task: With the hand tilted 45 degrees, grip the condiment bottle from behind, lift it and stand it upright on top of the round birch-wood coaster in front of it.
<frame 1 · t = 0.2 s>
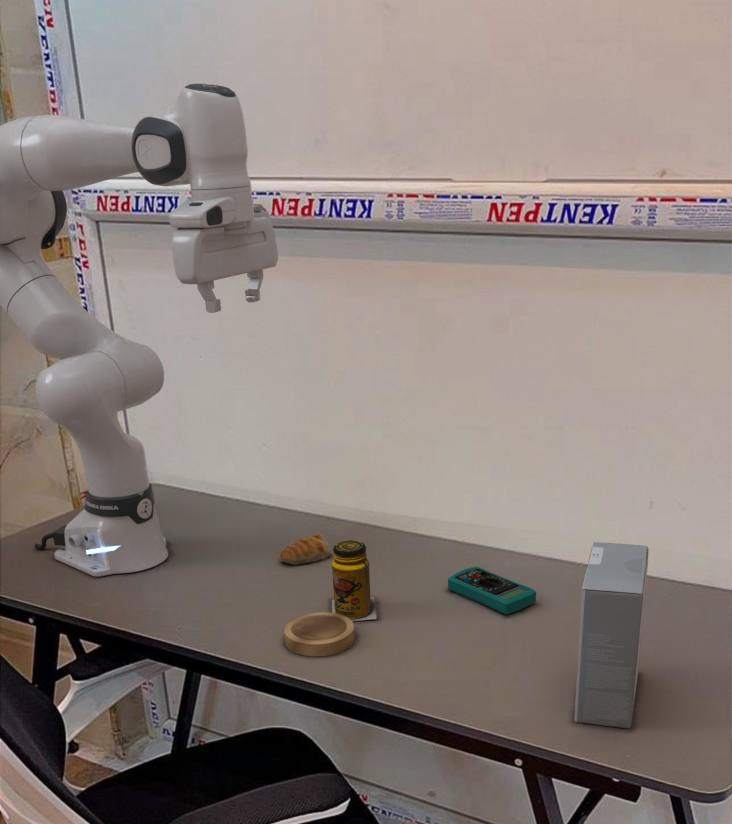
hand: (234, 306, 149), 48 cm above the table, tool pointing down, fingers open, 8 cm apart
hard drive box: (606, 698, 134), on the table
condiment: (353, 611, 162), on the table
digital multimeter: (490, 598, 164), on the table
coaster: (319, 640, 153), on the table
pastry: (307, 558, 183), on the table
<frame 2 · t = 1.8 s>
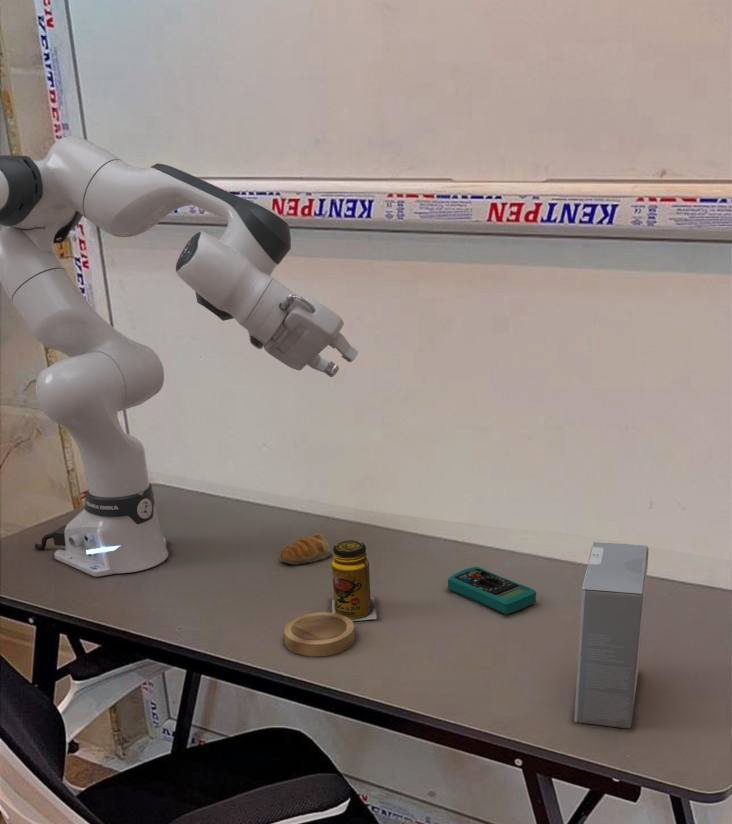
hand: (345, 365, 155), 38 cm above the table, tool tilted 50°, fingers open, 8 cm apart
nothing on the table moved.
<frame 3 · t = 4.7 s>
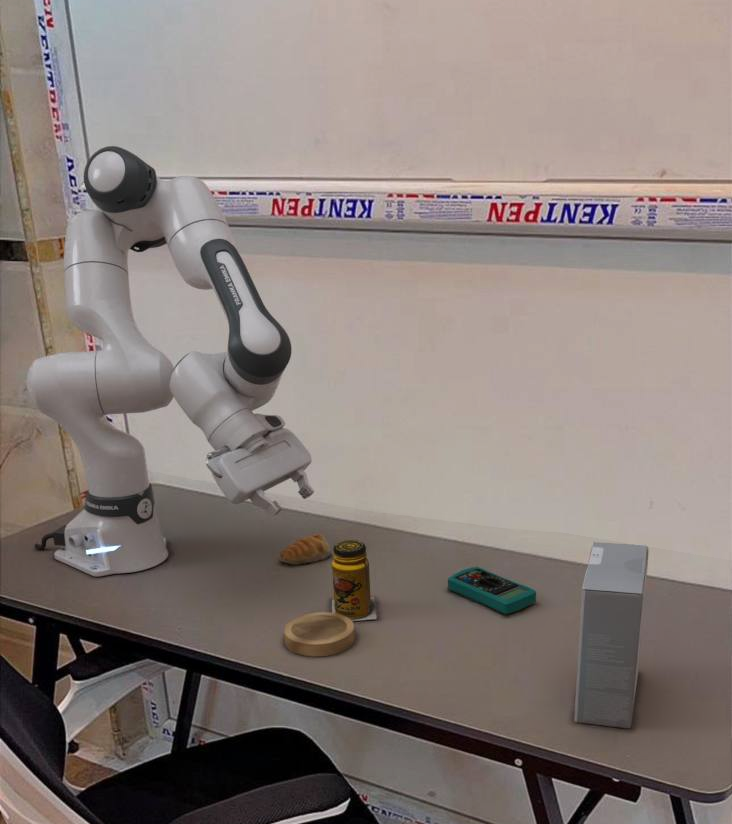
hand: (293, 504, 160), 17 cm above the table, tool tilted 45°, fingers open, 8 cm apart
nothing on the table moved.
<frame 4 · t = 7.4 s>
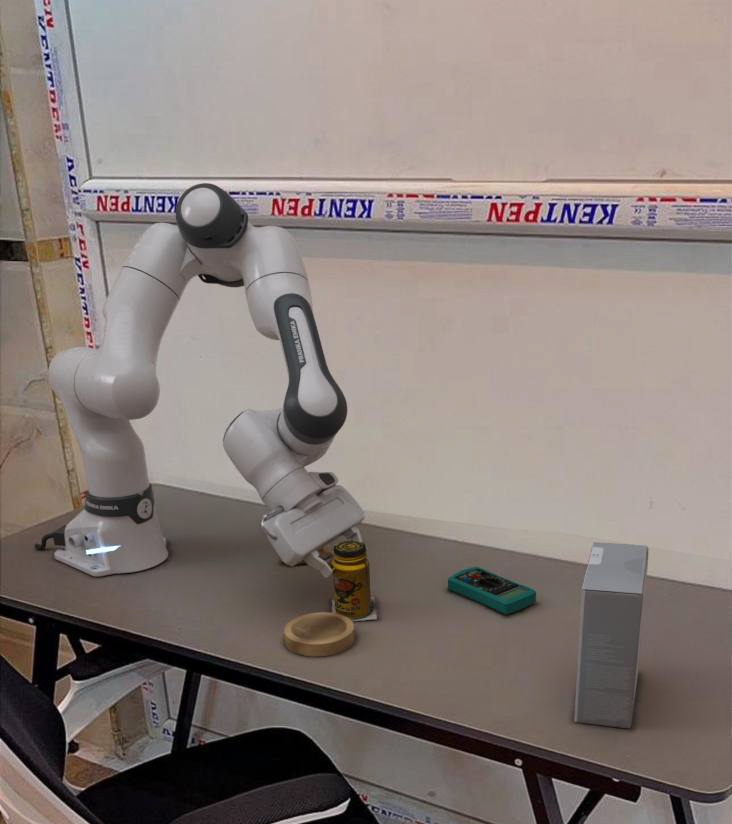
hand: (347, 563, 159), 8 cm above the table, tool tilted 45°, fingers open, 8 cm apart
condiment: (354, 611, 162), on the table, touching gripper
everything else where it was.
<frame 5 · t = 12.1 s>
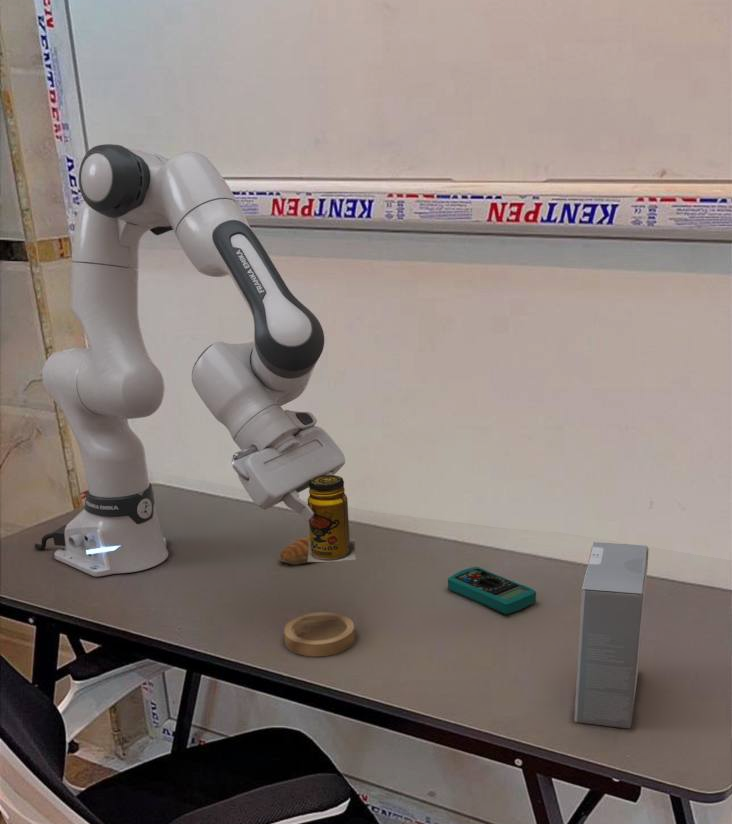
hand: (326, 509, 147), 20 cm above the table, tool tilted 45°, fingers closed on condiment, 6 cm apart
condiment: (331, 552, 151), point 13 cm above the table, touching gripper
everything else where it was.
when the fingers open (9 cm above the table, at t = 16.2 s): condiment stays where it is, resting on coaster.
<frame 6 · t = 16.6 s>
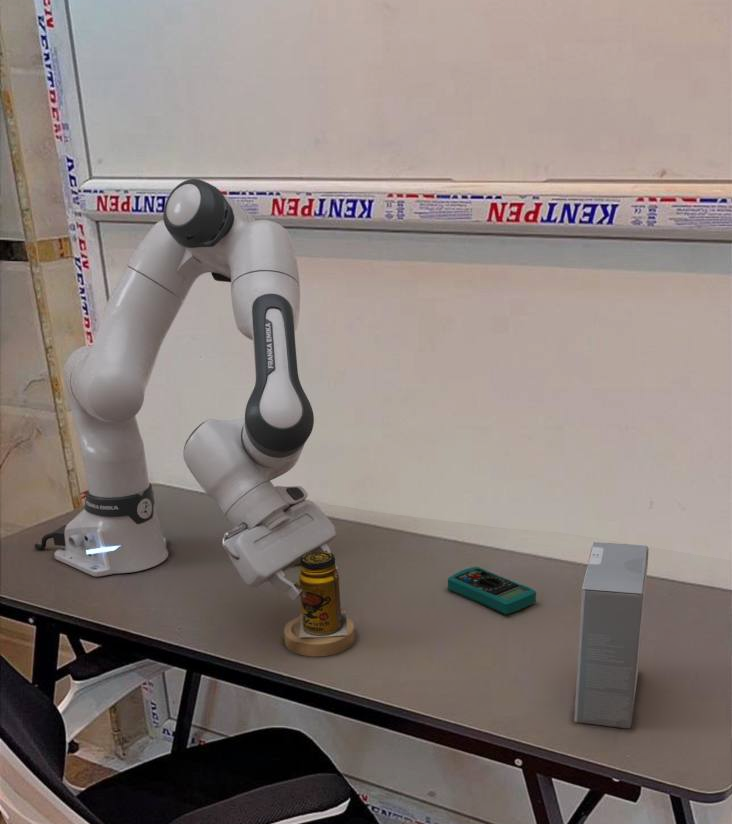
hand: (316, 584, 148), 10 cm above the table, tool tilted 45°, fingers open, 8 cm apart
condiment: (323, 626, 152), point 2 cm above the table, touching coaster
coaster: (319, 640, 153), on the table, touching condiment
everything else where it was.
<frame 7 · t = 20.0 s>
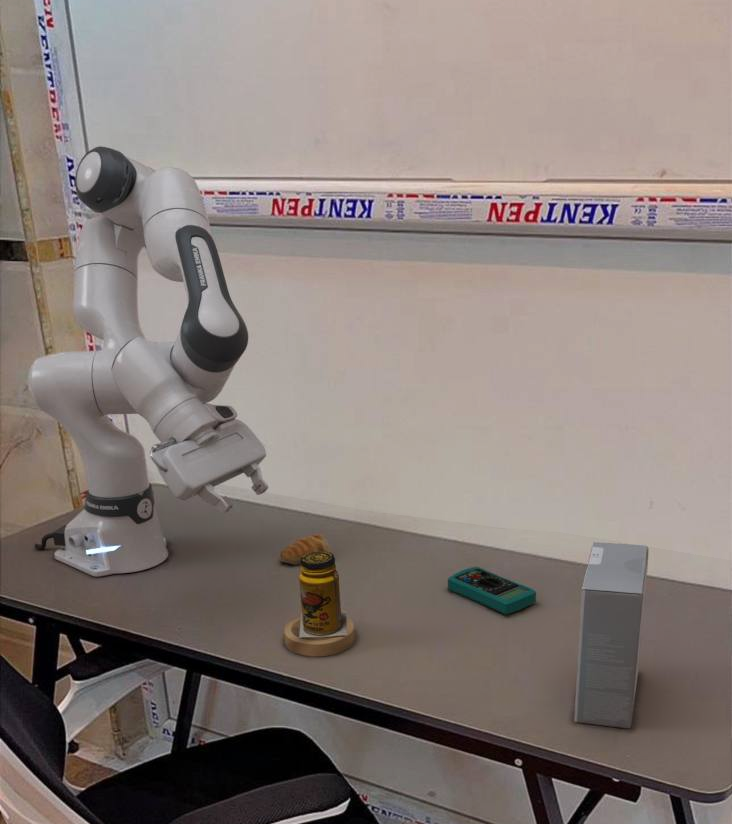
hand: (246, 500, 149), 21 cm above the table, tool tilted 45°, fingers open, 8 cm apart
nothing on the table moved.
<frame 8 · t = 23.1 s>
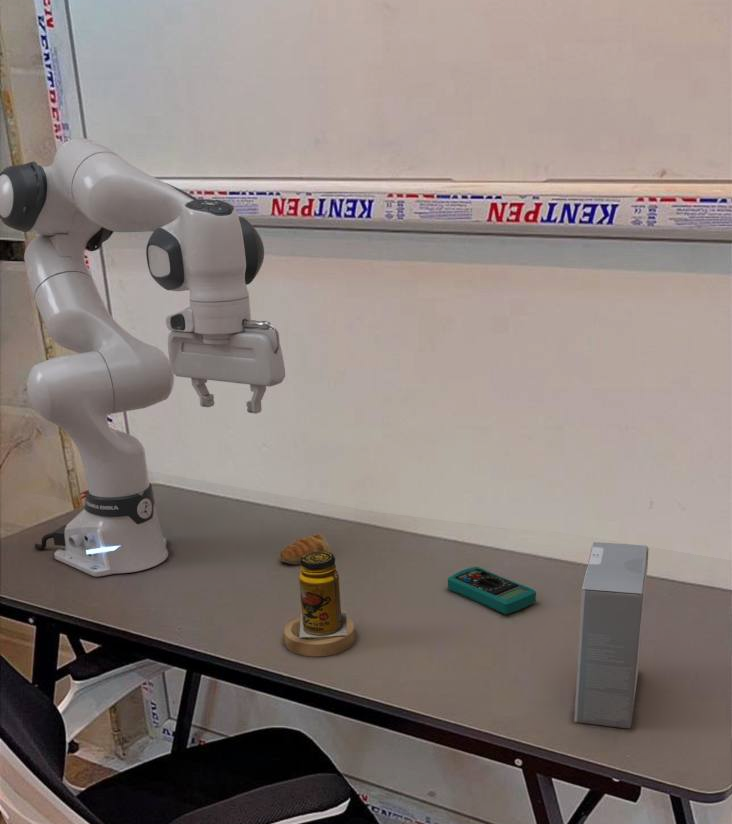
hand: (230, 409, 152), 33 cm above the table, tool pointing down, fingers open, 8 cm apart
nothing on the table moved.
at the end: condiment 1.0 cm off-centre on the coaster, point 2.0 cm above the coaster's base; condiment tilted 0°; the gripper is holding nothing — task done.
